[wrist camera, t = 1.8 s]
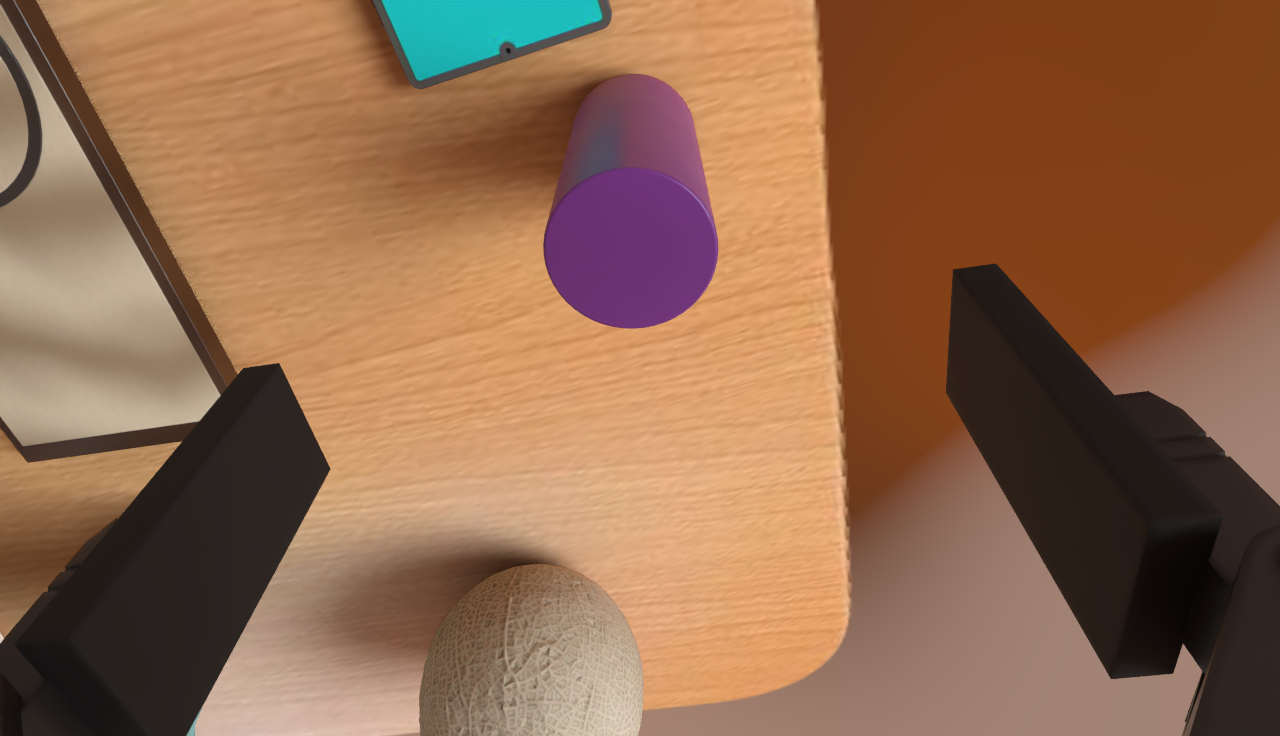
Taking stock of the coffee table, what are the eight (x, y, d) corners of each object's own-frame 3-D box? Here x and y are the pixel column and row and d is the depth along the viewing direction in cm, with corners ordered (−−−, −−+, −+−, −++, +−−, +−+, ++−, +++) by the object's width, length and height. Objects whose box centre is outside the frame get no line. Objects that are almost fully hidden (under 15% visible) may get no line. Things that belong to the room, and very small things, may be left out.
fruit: (447, 656, 45) (371, 965, 32) (450, 510, 39) (357, 821, 26) (626, 673, 46) (621, 980, 33) (657, 532, 39) (665, 845, 27)
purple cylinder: (561, 81, 27) (523, 183, 18) (685, 59, 27) (707, 153, 18) (587, 199, 30) (564, 340, 21) (700, 180, 29) (727, 316, 20)
